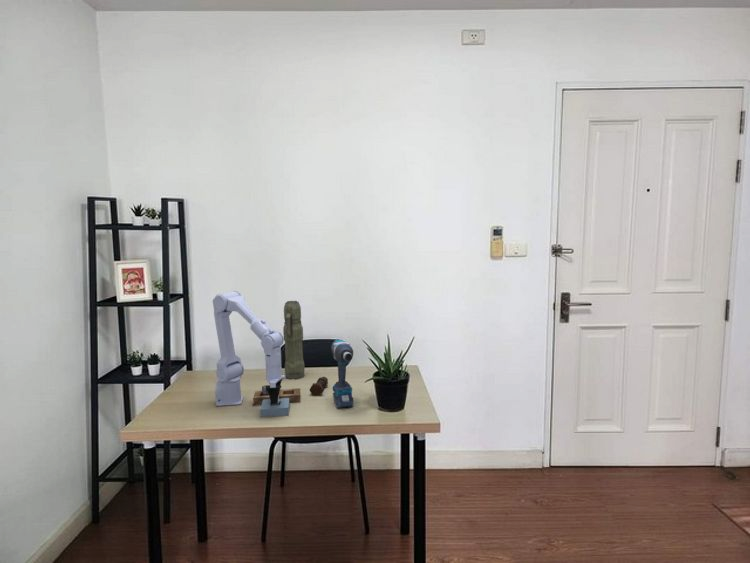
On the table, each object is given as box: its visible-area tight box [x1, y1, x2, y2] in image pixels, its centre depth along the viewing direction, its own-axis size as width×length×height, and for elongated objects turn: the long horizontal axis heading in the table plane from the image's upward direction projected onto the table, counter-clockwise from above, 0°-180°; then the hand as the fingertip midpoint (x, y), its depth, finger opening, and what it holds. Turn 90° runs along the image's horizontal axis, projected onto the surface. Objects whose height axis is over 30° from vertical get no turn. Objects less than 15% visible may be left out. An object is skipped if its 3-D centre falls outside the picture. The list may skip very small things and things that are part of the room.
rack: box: [252, 388, 301, 406], centre depth 196 cm, size 18×8×3 cm, turn 98°
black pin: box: [261, 384, 269, 396], centre depth 195 cm, size 3×3×6 cm
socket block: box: [259, 398, 291, 418], centre depth 185 cm, size 10×10×3 cm
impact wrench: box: [331, 338, 354, 409], centre depth 188 cm, size 8×23×25 cm, turn 16°
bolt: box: [309, 376, 329, 397], centre depth 208 cm, size 6×5×15 cm
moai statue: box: [282, 300, 306, 380], centre depth 224 cm, size 9×12×35 cm
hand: (275, 400), depth 184 cm, fingers open, 7 cm apart
